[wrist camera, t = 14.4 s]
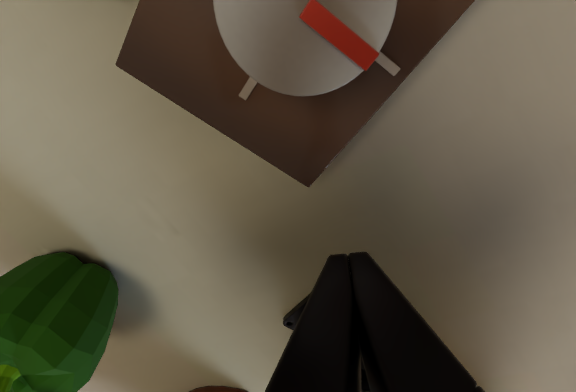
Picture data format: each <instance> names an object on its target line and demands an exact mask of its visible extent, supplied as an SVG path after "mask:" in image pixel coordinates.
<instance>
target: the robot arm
mask: <svg viewBox="0 0 576 392" xmlns="http://www.w3.org/2000/svg"><path fill="white" fill-rule="evenodd" d="M348 258H349V260H348ZM349 266H350V267H349ZM350 274H351V275H350ZM283 325H284V326H286V327H288V328H290V329H292V330H294V331H293V333H292V335H291V337H290V339H289V341H288V343H287V345H286V348H285V350H284V352H283V354H282V356H281V358H280V360H279V362H278V365H277V367H276V369H275V371H274V373H273V375H272V377H271V379H270V382H269V384H268V386H267V388H266V390H265V392H485V391H484V390H483V389H482V388H481V387H480V386H477V387H476V385H477V383H476V381H475V380H474V379H473V377H472V376H471V375H470V374H469V373H468V371H467V370H466V369H465V368H464V367H463V366H462V364H461V363H460V362H459V361H458V360H457V358H456V357H455V356H454V355H453V354H452V352H451V351H450V350H449V349H448V348H447V346H446V345H445V344H444V343H443V342H442V340H441V339H440V338H439V337H438V336H437V335H436V333H435V332H434V331H433V330H432V329H431V327H430V326H429V325H428V324H427V323H426V321H425V320H424V319H423V318H422V317H421V315H420V314H419V313H418V312H417V311H416V309H415V308H414V307H413V306H412V305H411V304H410V302H409V301H408V300H407V299H406V298H405V296H404V295H403V294H402V293H401V292H400V290H399V289H398V288H397V287H396V286H395V284H394V283H393V282H392V281H391V280H390V279H389V277H388V276H387V275H386V274H385V273H384V271H383V270H382V269H381V268H380V267H379V265H378V264H377V263H376V262H375V261H374V259H373V258H372V257H371V256H370V255H369V254H368V253H367V252H355V253H350V254H349V255H347V254H335V255H330V256H329V257H328V258H327V261H326V263H325V265H324V267H323V269H322V271H321V273H320V275H319V278H318V280H317V282H316V284H315V286H314V288H313V290H312V292H311V294H310V295H309V296H308V297H307V298H306V299H304V300H303V301H302V302H301V303H300V304H299V305H297V306H296V307H295V308H294V309H293V310H292V311H291V312H289V313H288V314H287V315H286V316H285V317H284V319H283Z"/></svg>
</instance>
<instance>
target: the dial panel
mask: <svg viewBox="0 0 576 392" xmlns="http://www.w3.org/2000/svg"><path fill="white" fill-rule="evenodd" d="M474 1H475V0H397V6H396V11H395V16H394V19H393V23H392V26H391V29H390V31H389V34H388V36H387V38H386V41H385V42H384V44H383V46H382V48H381V50H380V51H379V56H378V57H377V58H376V60H375V61H374V62H373V63H372V65H371V66H370V67H369V68H368V69H367V71H365V70H364V71H363V72H362V73H360V74H359V75H358V76H357V77H356V78H355V79H353V80H352V81H350V82H349V83H347V84H346V85H344V86H342V87H340V88H338V89H336V90H333V91H330V92H327V93H324V94H319V95H314V96H293V95H287V94H282V93H279V92H276V91H273V90H271V89H269V88H267V87H265V86H263V85H261V84H260V83H258V82H257V81H255V80H254V79H253V78H251V77H250V76H249V75H248V74H247V73H246V72H245V71H244V70H243V69H242V68H241V67H240V66H239V65H238V64H237V62H236V61H235V60H234V59H233V57H232V56H231V54H230V52H229V51H228V49H227V47H226V46H225V43H224V41H223V39H222V37H221V35H220V32H219V28H218V25H217V22H216V17H215V12H214V5H213V0H140V1H139V4H138V6H137V9H136V11H135V14H134V17H133V19H132V22H131V25H130V27H129V30H128V33H127V35H126V38H125V41H124V43H123V46H122V49H121V51H120V54H119V56H118V59H117V62H116V66H117V67H119V68H121V69H122V70H124V71H125V72H127V73H128V74H130V75H132V76H133V77H135V78H136V79H138V80H139V81H141V82H143V83H144V84H146V85H147V86H149V87H150V88H152V89H154V90H155V91H157V92H158V93H160V94H162V95H163V96H165V97H166V98H168V99H169V100H171V101H173V102H174V103H176V104H177V105H179V106H180V107H182V108H184V109H185V110H187V111H188V112H190V113H191V114H193V115H195V116H196V117H198V118H199V119H201V120H203V121H204V122H206V123H207V124H209V125H210V126H212V127H214V128H215V129H217V130H218V131H220V132H221V133H223V134H225V135H226V136H228V137H229V138H231V139H232V140H234V141H236V142H237V143H239V144H240V145H242V146H244V147H245V148H247V149H248V150H250V151H251V152H253V153H255V154H256V155H258V156H259V157H261V158H262V159H264V160H266V161H267V162H269V163H270V164H272V165H273V166H275V167H277V168H278V169H280V170H281V171H283V172H285V173H286V174H288V175H289V176H291V177H292V178H294V179H296V180H297V181H299V182H300V183H302V184H303V185H305V186H307V187H310V186H311V185H312V183H313V182H314V181H315V180H316V179H317V178H318V177H319V176H320V174H321V173H322V172H323V171H324V170H325V169H326V168H327V166H328V165H329V164H330V163H331V162H332V161H333V160H334V159H335V157H336V156H337V155H338V154H339V153H340V152H341V151H342V150H343V148H344V147H345V146H346V145H347V144H348V143H349V142H350V141H351V139H352V138H353V137H354V136H355V135H356V134H357V133H358V131H359V130H360V129H361V128H362V127H363V126H364V125H365V124H366V122H367V121H368V120H369V119H370V118H371V117H372V116H373V115H374V113H375V112H376V111H377V110H378V109H379V108H380V107H381V106H382V104H383V103H384V102H385V101H386V100H387V99H388V98H389V97H390V95H391V94H392V93H393V92H394V91H395V90H396V89H397V87H398V86H399V85H400V84H401V83H402V82H403V81H404V80H405V78H406V77H407V76H408V75H409V74H410V73H411V72H412V71H413V69H414V68H415V67H416V66H417V65H418V64H419V63H420V62H421V60H422V59H423V58H424V57H425V56H426V55H427V54H428V52H429V51H430V50H431V49H432V48H433V47H434V46H435V45H436V43H437V42H438V41H439V40H440V39H441V38H442V37H443V36H444V34H445V33H446V32H447V31H448V30H449V29H450V28H451V27H452V25H453V24H454V23H455V22H456V21H457V20H458V19H459V18H460V16H461V15H462V14H463V13H464V12H465V11H466V10H467V8H468V7H469V6H470V5H471V4H472V3H473V2H474Z"/></svg>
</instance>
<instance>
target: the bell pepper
mask: <svg viewBox="0 0 576 392" xmlns="http://www.w3.org/2000/svg"><path fill="white" fill-rule="evenodd" d="M117 305H118V286H117V282H116V280H115V278H114V277H113V275H112V274H111V272H110V271H108V270H106V269H104V268H102V267H100V266H98V265H96V264H94V263H90V264H83V263H82V262H81V261H80V260H78V259H77V258H76V257H75V256H73V255H70V254H68V253H65V252H60V253H53V254H47V255H41V256H36V257H34V258H32V259H30V260H28V261H26V262H25V263H23V264H21V265H19V266H17V267H15V268H14V269H12V270H11V271H9V272H7V273H6V274H4V275H3V276H1V277H0V392H77V391H78V390H79V389H80V388H82V387H83V386H84V385H85V384H86V383H87V382H88V381H89V380H90V378H91V376H92V374H93V372H94V371H95V369H96V367H97V365H98V363H99V361H100V359H101V357H102V355H103V353H104V351H105V348H106V345H107V342H108V338H109V335H110V332H111V329H112V325H113V322H114V317H115V313H116V309H117Z"/></svg>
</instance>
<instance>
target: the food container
mask: <svg viewBox="0 0 576 392" xmlns="http://www.w3.org/2000/svg"><path fill="white" fill-rule="evenodd" d="M190 392H247V391H244V390H241V389H237V388H231V387H225V386H207V387H201V388H196V389H194V390H192V391H190Z"/></svg>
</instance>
